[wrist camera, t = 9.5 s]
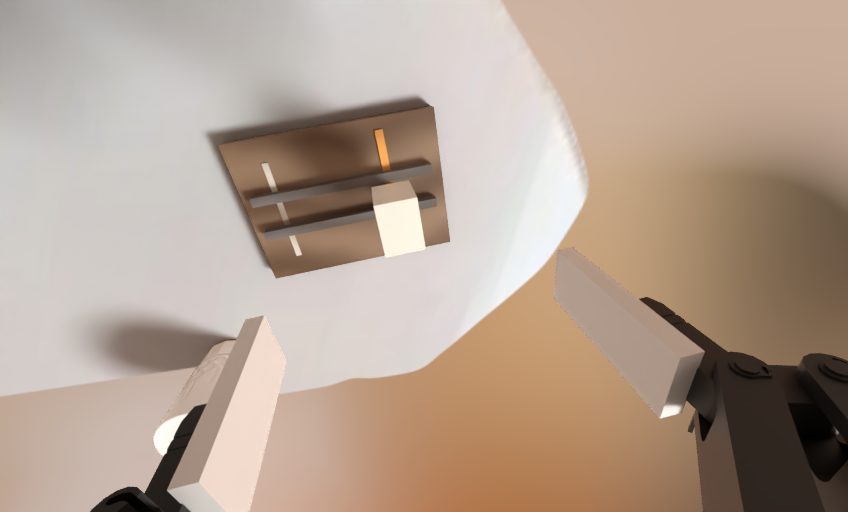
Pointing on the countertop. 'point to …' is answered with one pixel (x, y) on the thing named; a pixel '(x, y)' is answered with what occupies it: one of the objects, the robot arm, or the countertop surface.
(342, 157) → the board
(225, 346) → the white cup
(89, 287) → the countertop surface
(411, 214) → the block
